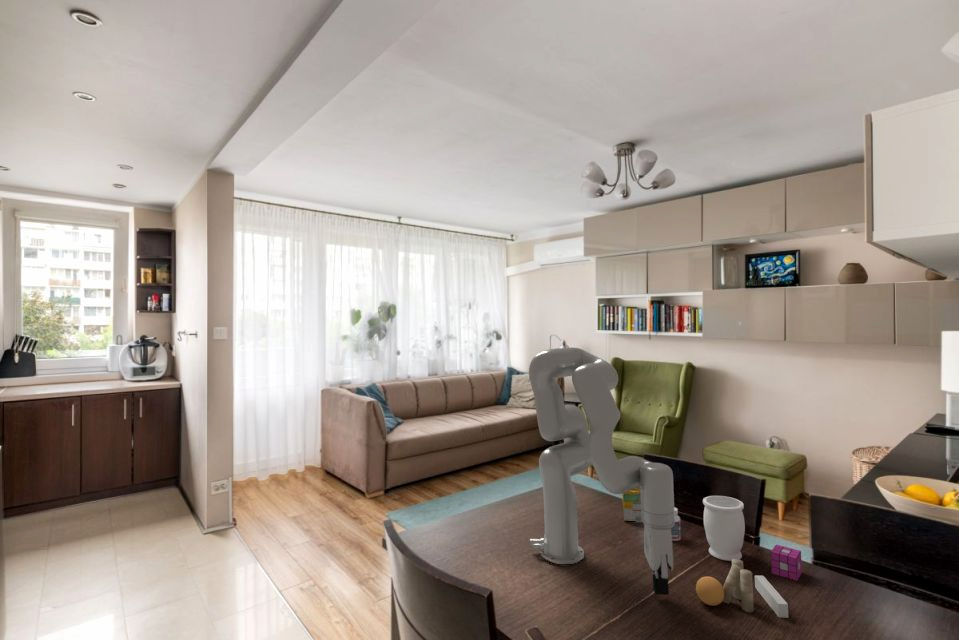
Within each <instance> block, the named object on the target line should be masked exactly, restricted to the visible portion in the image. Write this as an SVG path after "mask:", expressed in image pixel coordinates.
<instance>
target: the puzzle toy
mask: <svg viewBox="0 0 959 640" xmlns="http://www.w3.org/2000/svg"><path fill="white" fill-rule="evenodd" d="M770 563H771V565H770V566H771V570H770V571H771V574H773V575H774V576H775V575H776V576H779V577H782V576H783V577H782V578H785V577H787V578H786V579H789V578H790V579H789V580H792V579H793V581H795V580H796V582H798V581H797V580H799V578H800V577H801V575H802V573H803V569H802V568H803V567H802V550H799V549H795V548H792V547H787V546H783V545H780V544H775V545H774V547H773V548H772V549H771V551H770Z"/></svg>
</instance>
